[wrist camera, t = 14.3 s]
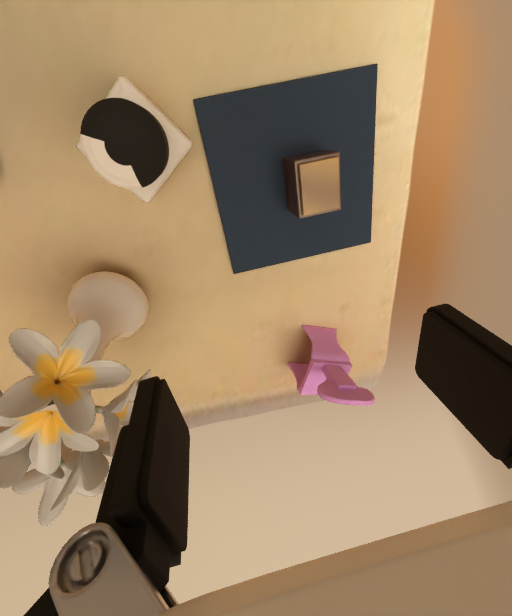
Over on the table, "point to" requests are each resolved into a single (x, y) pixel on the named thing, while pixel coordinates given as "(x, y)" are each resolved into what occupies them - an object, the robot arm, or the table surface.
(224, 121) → the desk pad
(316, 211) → the brown block
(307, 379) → the toy chair
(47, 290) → the table surface
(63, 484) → the flower vase
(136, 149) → the medicine bottle
